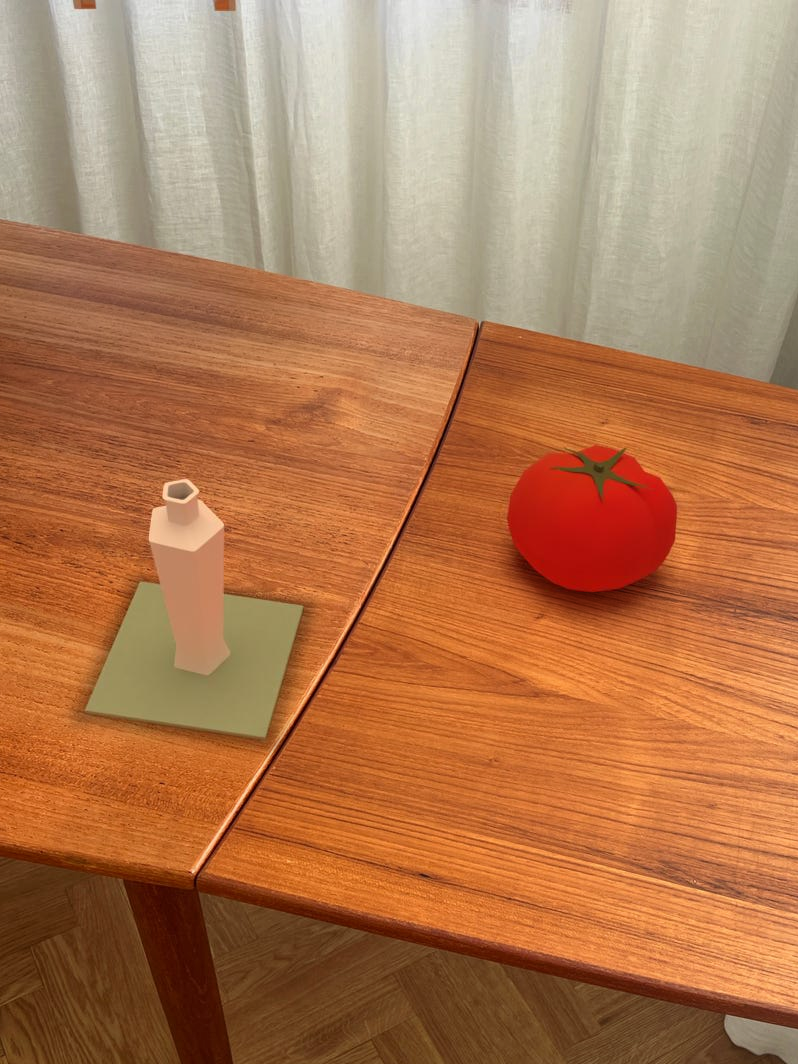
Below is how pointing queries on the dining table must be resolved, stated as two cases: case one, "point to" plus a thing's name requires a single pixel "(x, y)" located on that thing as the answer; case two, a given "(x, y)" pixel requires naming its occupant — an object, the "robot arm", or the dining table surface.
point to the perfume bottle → (191, 575)
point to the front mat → (190, 698)
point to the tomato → (592, 519)
